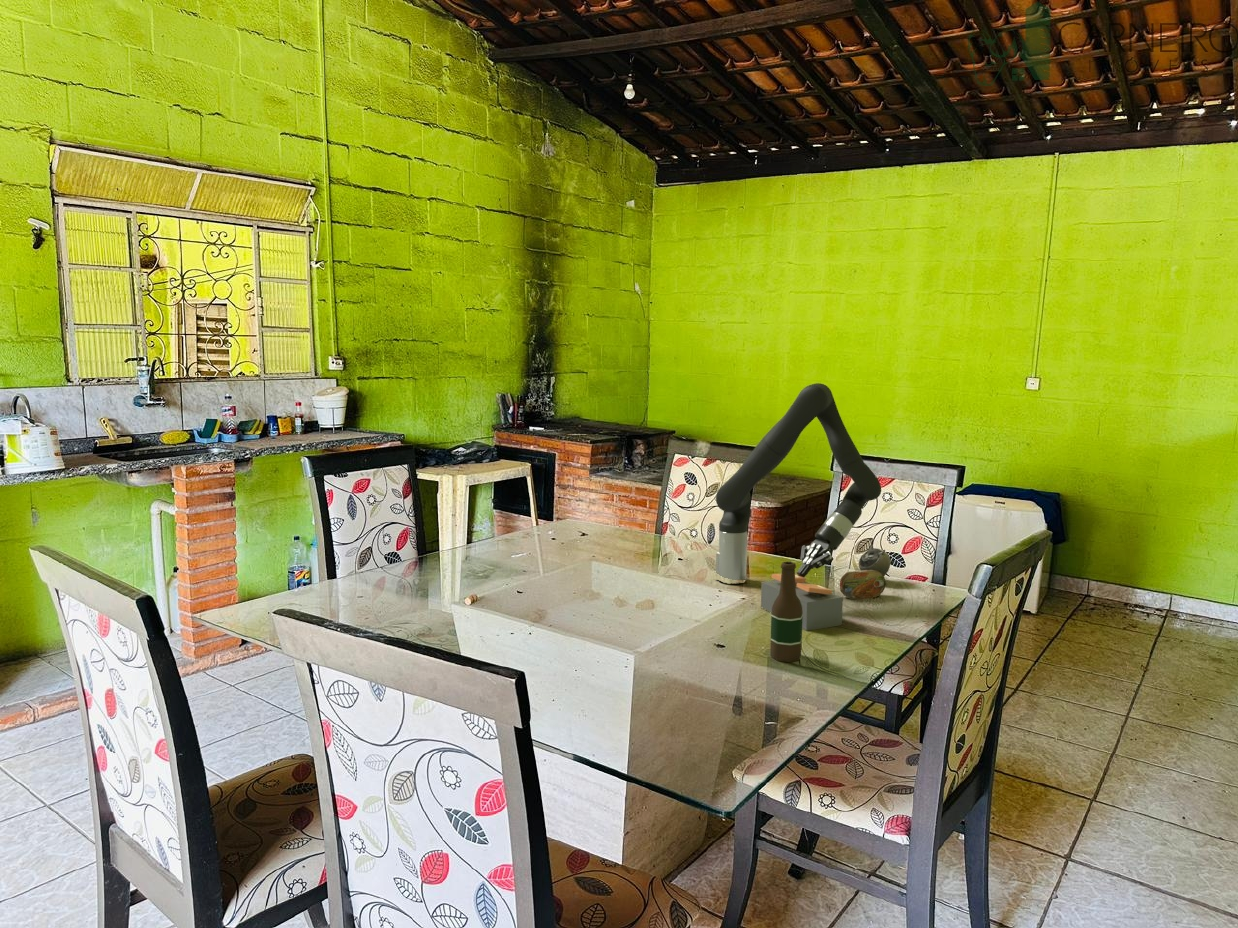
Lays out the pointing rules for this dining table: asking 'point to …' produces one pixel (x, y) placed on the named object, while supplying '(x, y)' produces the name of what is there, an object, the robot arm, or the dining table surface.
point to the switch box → (807, 605)
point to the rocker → (797, 578)
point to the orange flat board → (814, 588)
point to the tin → (862, 584)
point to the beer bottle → (786, 619)
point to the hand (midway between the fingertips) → (799, 575)
